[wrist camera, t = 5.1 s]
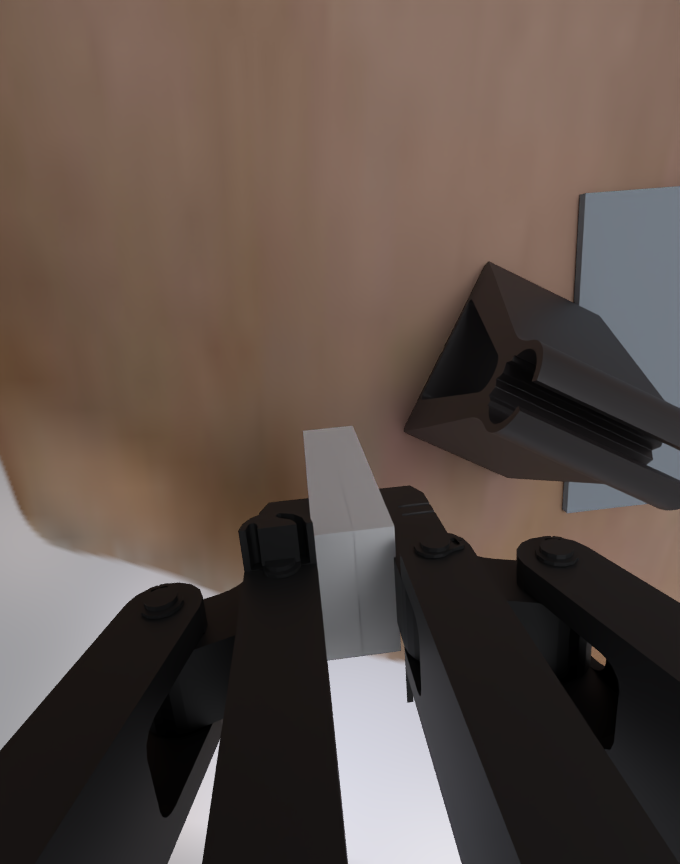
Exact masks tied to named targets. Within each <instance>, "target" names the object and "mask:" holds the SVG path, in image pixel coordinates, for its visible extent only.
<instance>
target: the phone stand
mask: <svg viewBox="0 0 680 864" xmlns="http://www.w3.org/2000/svg"><path fill="white" fill-rule="evenodd" d="M404 432H405V433H408V434H410V435H412V436H414V437H417V438H419V439H421V440H423V441H426V442H428V443H430V444H432V445H435V446H437V447H439V448H441V449H444V450H446V451H448V452H451V453H453V454H455V455H457V456H460V457H462V458H464V459H466V460H469V461H471V462H473V463H475V464H478V465H480V466H482V467H484V468H487V469H489V470H491V471H493V472H496V473H498V474H500V475H503V476H505V477H507V478H517V479H532V480H548V481H563V482H579V483H594V484H605V485H608V486H610V487H612V488H614V489H616V490H619V491H621V492H623V493H625V494H628V495H630V496H632V497H634V498H636V499H639V500H641V501H643V502H645V503H647V504H650V505H652V506H654V507H656V508H659V509H662V510H676V509H680V480H678V479H676V478H674V477H672V476H669V475H667V474H665V473H663V472H661V471H659V470H656V469H654V468H652V467H650V466H648V465H647V464H648V463H649V462H651V461H652V460H653V455H652V450H654V449H657V448H659V447H661V446H662V443H664V444H667V445H669V446H671V447H673V448H675V449H677V450H679V451H680V408H678V407H676V406H674V405H672V404H670V403H668V402H666V401H665V400H664V399H663V398H662V396H661V395H660V394H659V392H658V391H657V390H656V388H655V387H654V386H653V385H652V383H651V382H650V381H649V379H648V378H647V377H646V375H645V374H644V373H643V371H642V370H641V369H640V368H639V366H638V365H637V364H636V362H635V361H634V360H633V358H632V357H631V356H630V355H629V353H628V352H627V351H626V349H625V348H624V347H623V345H622V344H621V343H620V342H619V340H618V339H617V338H616V336H615V335H614V334H613V332H612V331H611V330H610V328H609V327H608V326H607V325H606V323H605V322H604V321H603V319H602V318H601V317H600V316H599V315H597V314H595V313H593V312H591V311H589V310H587V309H585V308H583V307H581V306H579V305H577V304H575V303H573V302H571V301H569V300H567V299H565V298H563V297H560V296H558V295H556V294H554V293H552V292H550V291H548V290H546V289H544V288H542V287H540V286H538V285H536V284H534V283H532V282H530V281H528V280H526V279H524V278H522V277H520V276H518V275H516V274H514V273H512V272H510V271H507V270H505V269H503V268H501V267H499V266H497V265H495V264H493V263H491V262H487V264H486V265H485V267H484V268H483V270H482V272H481V274H480V276H479V278H478V280H477V282H476V284H475V286H474V288H473V290H472V292H471V294H470V296H469V298H468V300H467V302H466V304H465V306H464V308H463V310H462V312H461V314H460V316H459V318H458V320H457V322H456V324H455V326H454V328H453V330H452V332H451V335H450V337H449V339H448V341H447V343H446V345H445V348H444V350H443V352H442V353H441V355H440V357H439V359H438V361H437V363H436V365H435V367H434V369H433V371H432V373H431V375H430V377H429V379H428V381H427V383H426V385H425V387H424V389H423V391H422V393H421V395H420V397H419V399H418V401H417V403H416V405H415V407H414V409H413V411H412V413H411V415H410V417H409V419H408V421H407V423H406V425H405V428H404Z"/></svg>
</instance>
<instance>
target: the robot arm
mask: <svg viewBox="0 0 680 864" xmlns="http://www.w3.org/2000/svg"><path fill="white" fill-rule="evenodd" d="M303 437H304V448H305V460H306V472H307V483H308V495H309V498H306V499H297V500H288V501H279V502H270V503H268V504H267V505H266V506H265V507H264V509H263V510H262V511H261V512H260V513H259V515H258V516H255V517H253V518H250V519H249V520H248V521H246V522H245V523H243V524H242V526H241V527H240V529H239V531H238V532H239V538H240V545H241V552H242V558H243V565H244V571H245V572H244V579H243V582H242V583H241V584H239V585H238V586H236V587H234V588H233V589H231V590H229V591H226V592H224V593H221V594H219V595H216V596H212V597H209V598H206V599H203V596H202V594H201V591H200V589H198V588H197V587H195V586H193V585H192V584H185V583H170V584H168V583H167V584H161V585H160V586H155V587H152V588H150V589H148V590H146V591H144V592H142V593H140V594H138V595H137V596H135V597H134V598H133V599H132V600H131V601H129V602H128V603H127V604H126V605H125V606H124V607H123V609H122V610H121V611H120V612H119V613H118V614H117V615H116V617H115V618H114V619H113V620H112V621H111V622H110V624H109V625H108V626H107V627H106V628H105V629H104V631H103V632H102V633H101V634H100V635H99V636H98V638H97V639H96V640H95V641H94V642H93V643H92V645H91V646H90V647H89V648H88V649H87V650H86V651H85V653H84V654H83V655H82V656H81V657H80V659H79V660H78V661H77V662H76V663H75V664H74V666H73V667H72V668H71V669H70V670H69V671H68V672H67V674H66V675H65V676H64V677H63V678H62V680H61V681H60V682H59V683H58V684H57V685H56V686H55V688H54V689H53V690H52V691H51V692H50V693H49V695H48V696H47V697H46V698H45V699H44V700H43V701H42V703H41V704H40V705H39V706H38V707H37V709H36V710H35V711H34V712H33V713H32V714H31V715H30V717H29V718H28V719H27V720H26V721H25V723H24V724H23V725H22V726H21V727H20V728H19V729H18V731H17V732H16V733H15V734H14V735H13V736H12V738H11V739H10V740H9V741H8V742H7V743H6V745H5V746H4V747H3V748H2V749H1V750H0V864H168V861H169V859H170V856H171V854H172V852H173V849H174V847H175V845H176V842H177V840H178V837H179V835H180V833H181V830H182V828H183V825H184V823H185V821H186V818H187V816H188V814H189V811H190V809H191V806H192V804H193V802H194V799H195V797H196V794H197V792H198V790H199V787H200V785H201V783H202V780H203V778H204V776H205V773H206V771H207V768H208V766H209V764H210V761H211V759H212V757H213V754H214V752H215V749H216V747H217V744H218V742H219V740H220V745H219V752H218V758H217V765H216V772H215V779H214V786H213V792H212V799H211V806H210V814H209V821H208V828H207V834H206V841H205V848H204V854H203V861H202V864H348V859H347V850H346V839H345V830H344V821H343V810H342V800H341V790H340V781H339V771H338V761H337V751H336V742H335V731H334V722H333V712H332V702H331V692H330V682H329V673H328V663H327V661H328V660H334V659H343V658H350V657H358V656H366V655H373V654H381V653H389V652H396V651H401V643H400V633H401V636H402V639H403V643H404V646H405V665H406V683H407V702H413V696H414V700H415V703H416V707H417V710H418V714H419V717H420V721H421V724H422V728H423V731H424V734H425V738H426V741H427V745H428V748H429V752H430V755H431V758H432V762H433V765H434V769H435V772H436V775H437V779H438V782H439V786H440V790H441V793H442V797H443V800H444V804H445V807H446V810H447V814H448V817H449V821H450V824H451V828H452V831H453V835H454V838H455V842H456V845H457V849H458V852H459V855H460V859H461V862H462V864H680V603H679V602H677V601H676V600H674V599H672V598H671V597H669V596H667V595H666V594H664V593H662V592H661V591H659V590H658V589H656V588H654V587H653V586H651V585H649V584H648V583H646V582H644V581H643V580H641V579H639V578H638V577H636V576H634V575H633V574H631V573H630V572H628V571H626V570H625V569H623V568H621V567H620V566H618V565H616V564H615V563H613V562H611V561H610V560H608V559H606V558H605V557H603V556H602V555H600V554H598V553H597V552H595V551H593V550H592V549H590V548H588V547H587V546H584V545H582V544H580V543H578V542H576V541H573V540H568V539H564V538H562V537H556V536H553V537H551V536H543V537H538V538H531V539H529V540H527V541H525V542H522V543H521V544H520V546H519V547H518V548H517V560H502V559H491V558H483V557H479V556H477V555H476V553H475V552H474V550H473V549H472V547H471V546H470V544H469V543H467V542H466V541H465V540H464V539H463V538H461V537H458V536H456V535H454V534H450V533H447V531H446V530H445V528H444V526H443V525H442V523H441V521H440V520H439V518H438V516H437V515H436V513H435V512H434V510H433V508H432V507H431V505H430V504H429V502H428V500H427V498H426V497H425V495H424V493H422V492H421V491H419V490H417V489H415V488H414V487H412V486H401V487H392V488H383V489H379V488H378V486H377V483H376V481H375V478H374V476H373V474H372V471H371V469H370V466H369V464H368V462H367V459H366V457H365V454H364V452H363V449H362V447H361V445H360V442H359V440H358V437H357V435H356V433H355V430H354V428H353V426H345V427H335V428H325V429H316V430H306V431H303ZM592 646H593V647H594V648H595V649H597V650H598V651H599V652H600V653H601V654H602V655H603V656H604V657H605V658H606V664H605V666H603V665H602V664H600V663H599V662H598V661H596V660H595V659H594V658H593V657H592V656H591V648H592Z"/></svg>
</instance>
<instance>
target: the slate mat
mask: <svg viewBox="0 0 680 864" xmlns="http://www.w3.org/2000/svg"><path fill="white" fill-rule="evenodd" d="M574 303H575V304H577V305H579V306H581V307H583V308H585V309H587V310H589V311H591V312H593V313H595V314H597V315H599V316H600V317H601V318H602V319H603V321H604V322H605V323H606V325H607V326H608V327H609V328H610V330H611V331H612V332H613V334H614V335H615V336H616V338H617V339H618V340H619V342H620V343H621V344H622V345H623V347H624V348H625V349H626V351H627V352H628V353H629V355H630V356H631V357H632V358H633V360H634V361H635V362H636V364H637V365H638V366H639V368H640V369H641V370H642V371H643V373H644V374H645V375H646V377H647V378H648V379H649V381H650V382H651V383H652V385H653V386H654V387H655V388H656V390H657V391H658V392H659V394H660V395H661V396H662V398H663V399H664V400H665V401H666V402H668V403H670V404H672V405H674V406H676V407H678V408H680V186H677V187H664V188H650V189H637V190H624V191H611V192H598V193H585V194H581V195H580V203H579V221H578V239H577V257H576V275H575V293H574ZM652 455H653V460H652V461H651V462H649V463H648V464H647V465H648V466H650V467H652V468H654V469H656V470H659V471H661V472H663V473H665V474H667V475H669V476H672V477H674V478H676V479H678V480H680V451H679V450H677V449H675V448H673V447H671V446H669V445H667V444H664V443H662V446H661V447H659V448H657V449H654V450H652ZM641 504H647V503H645V502H643V501H641V500H639V499H636V498H634V497H632V496H630V495H628V494H625V493H623V492H621V491H619V490H616V489H614V488H612V487H610V486H608V485H605V484H594V483H579V482H564V491H563V510H564V511H565V512H566V513H572V512H581V511H589V510H598V509H606V508H615V507H624V506H632V505H641Z"/></svg>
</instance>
